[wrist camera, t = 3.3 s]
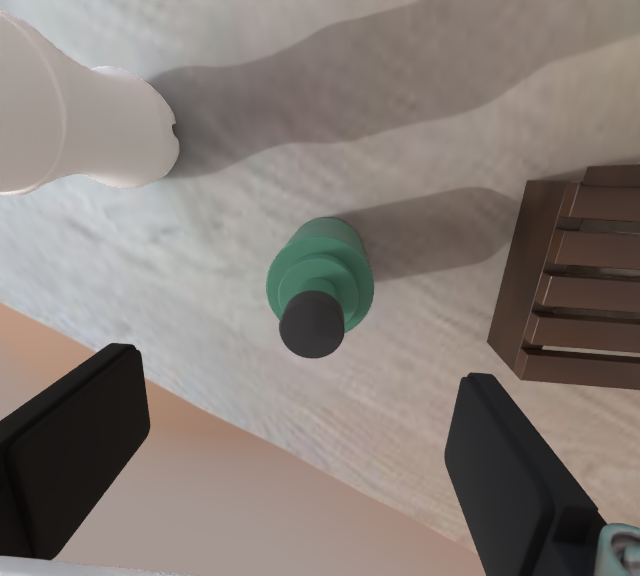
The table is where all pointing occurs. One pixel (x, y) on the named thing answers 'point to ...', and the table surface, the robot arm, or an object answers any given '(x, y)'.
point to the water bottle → (75, 118)
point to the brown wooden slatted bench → (572, 282)
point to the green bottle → (320, 286)
